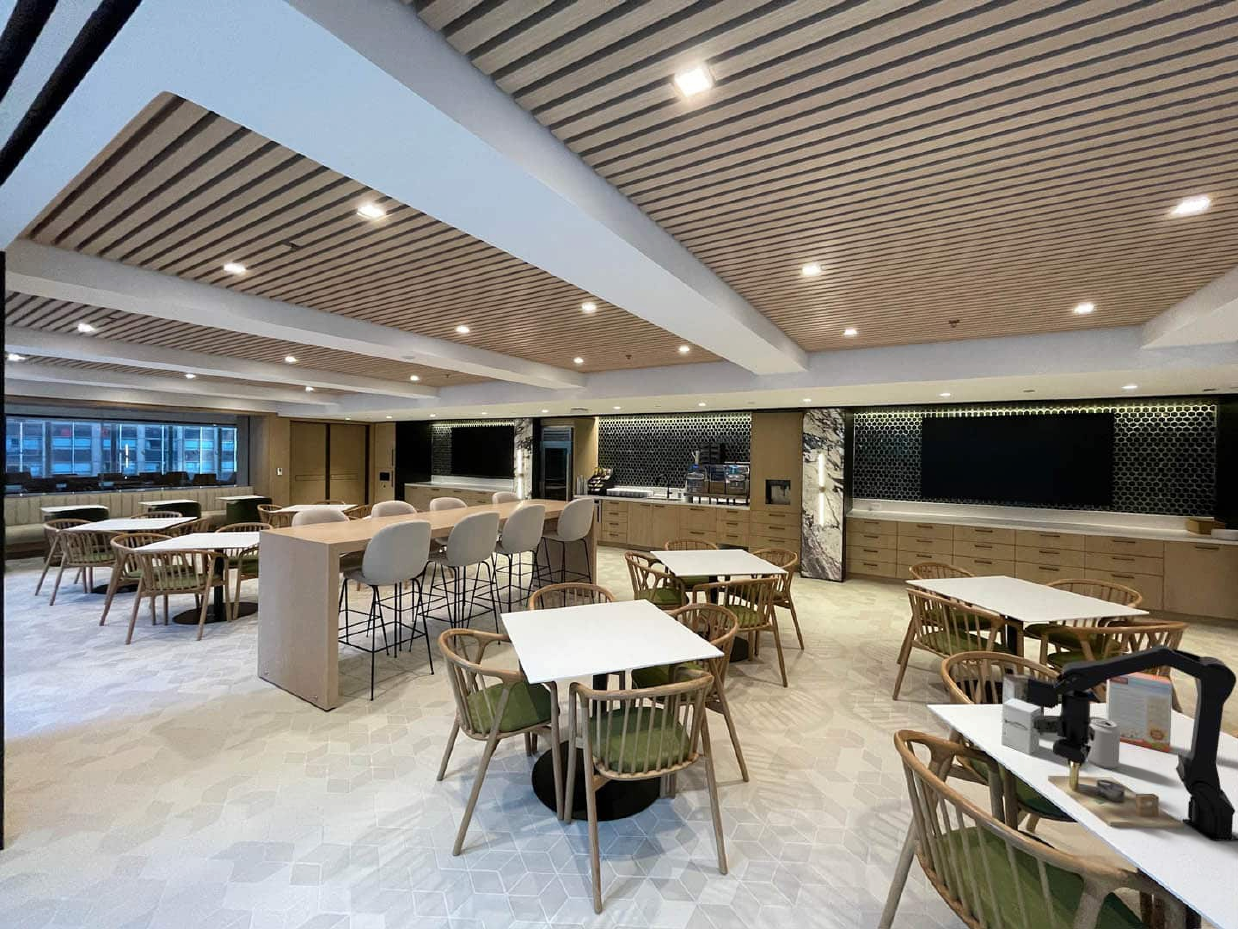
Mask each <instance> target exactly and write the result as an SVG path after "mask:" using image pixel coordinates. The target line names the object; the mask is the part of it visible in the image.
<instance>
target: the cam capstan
mask: <svg viewBox="0 0 1238 929" xmlns="http://www.w3.org/2000/svg"><path fill="white" fill-rule="evenodd" d="M1069 776H1070V777H1069V787H1070V788H1071V789H1073V790H1080V791H1085V792H1089V793H1094V794H1098V795H1099V796H1101V797H1103V798H1105V799H1107V800H1109V801H1112V802H1116V803H1123V802H1124V801H1125V789H1124V788H1123V787H1122V786H1120V785H1119V784H1116V783H1114V782H1111V781H1107V780H1099V781H1097V787H1094V786H1089V785H1084V784H1079V776H1080V769H1079V762H1076V761H1073V760H1070V767H1069Z"/></svg>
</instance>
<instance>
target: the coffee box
mask: <svg viewBox="0 0 1238 929" xmlns="http://www.w3.org/2000/svg"><path fill="white" fill-rule="evenodd" d="M1002 674H1003V676H1002V677H1003V678H1002V682H1003V683H1002V708H1001V709H1002V712H1001V723H1002V722H1003V704H1004V702H1006V701H1008V700H1010V699H1012V698H1015V699H1018V700H1021V701H1024V702H1026V694H1027V686H1028V677H1033V678H1036V679H1038V677H1036V676H1034V675H1029V674H1028V675H1027V674H1026V675H1025V674H1012V673H1011V674H1010V673H1002ZM1036 706H1038V705H1036ZM1039 707H1041V715H1045V707H1042V706H1039ZM1040 735H1042V734H1041V733H1040Z"/></svg>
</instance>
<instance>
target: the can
mask: <svg viewBox="0 0 1238 929" xmlns="http://www.w3.org/2000/svg"><path fill="white" fill-rule="evenodd" d="M1090 718H1091V723H1090V726H1091V727H1092V728H1093V729H1094V730H1095V739H1094V741H1091V739H1090V740H1089V743H1088V746H1090V747H1091V749H1090V752H1089V754H1088V757H1087V758H1086V761H1087V762H1089V763H1091V764H1092V765H1094V766H1097V767H1099V768H1104V769H1107V770H1109V769H1110V770H1111V769H1114V768H1118V767H1119V764H1120V747H1121V746H1120V745H1121V744H1120V743H1121V741H1120V730H1119V729H1118V728H1117V724H1116V723H1114V722H1113V721H1110V720H1108V719H1106V717H1100V716H1095V715H1092V716H1091V715H1090ZM1085 745H1087V744H1085Z"/></svg>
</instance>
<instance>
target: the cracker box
mask: <svg viewBox="0 0 1238 929" xmlns="http://www.w3.org/2000/svg"><path fill="white" fill-rule="evenodd" d="M1105 695H1106V697H1105V698H1106V701H1105V719H1108V720H1110V721H1113V722H1114V723H1116V724H1117V728H1118V729H1119V730H1120V742H1123V743H1127V744H1132V745H1136V746H1140V747H1143V748H1148V749H1151V750H1152V749H1153V750H1157V751H1160V752H1165V753H1168V754H1169V753H1171V739H1172V738H1171V735H1172V734H1171V733H1172V731H1171V730H1172V706H1173V705H1172V703H1173V702H1172V701H1173V699H1172V698H1173V683H1172V682H1171V680H1170V679H1169V678H1168V677H1166V676H1160V675H1155V674H1148V673H1143V672H1136V673H1132V674H1127V675H1123V676H1119V677H1115V678H1111V679H1108V680H1106V693H1105Z"/></svg>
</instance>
